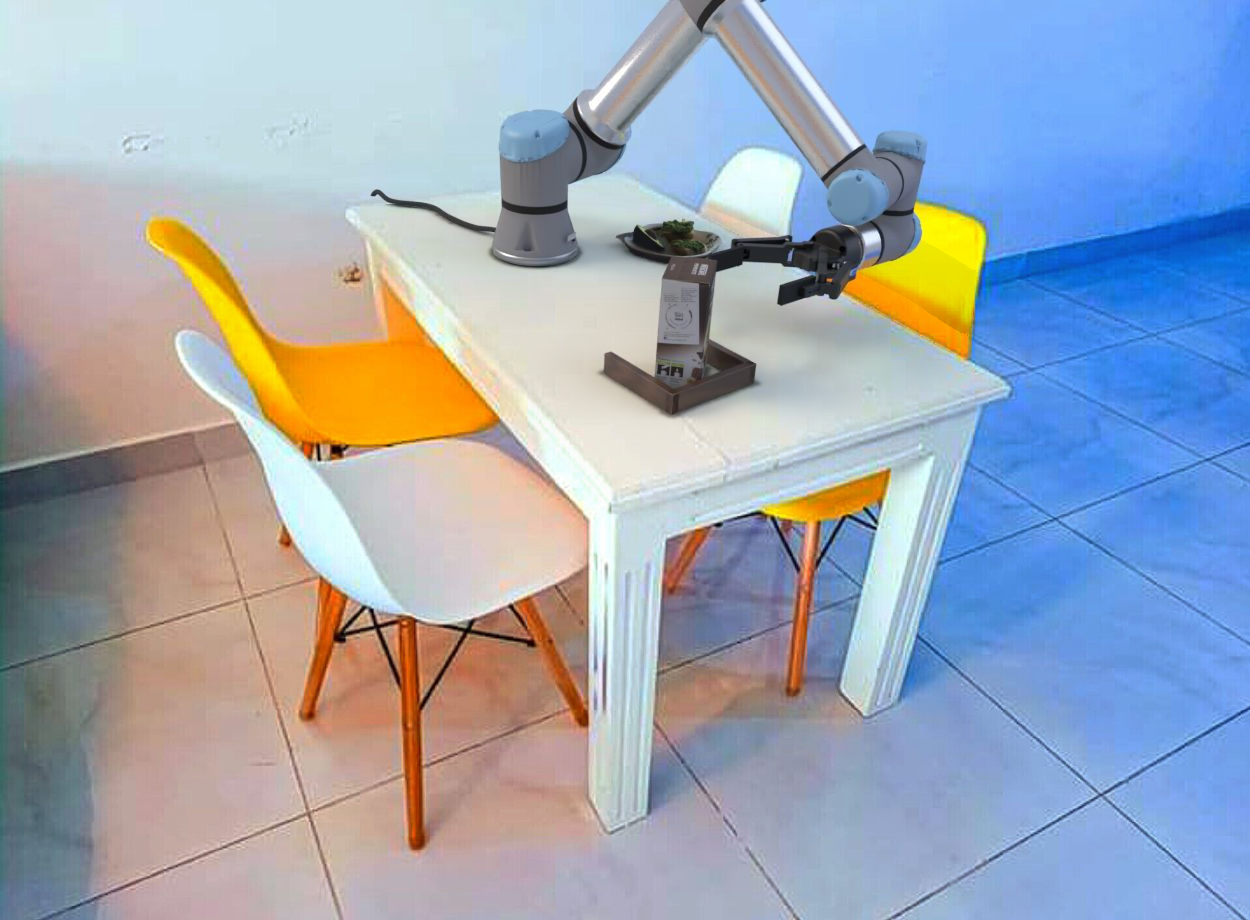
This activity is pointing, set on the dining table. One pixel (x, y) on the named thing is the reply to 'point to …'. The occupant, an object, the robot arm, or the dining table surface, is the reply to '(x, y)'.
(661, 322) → the coffee box
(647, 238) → the salad plate
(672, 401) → the walnut holder
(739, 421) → the dining table surface
